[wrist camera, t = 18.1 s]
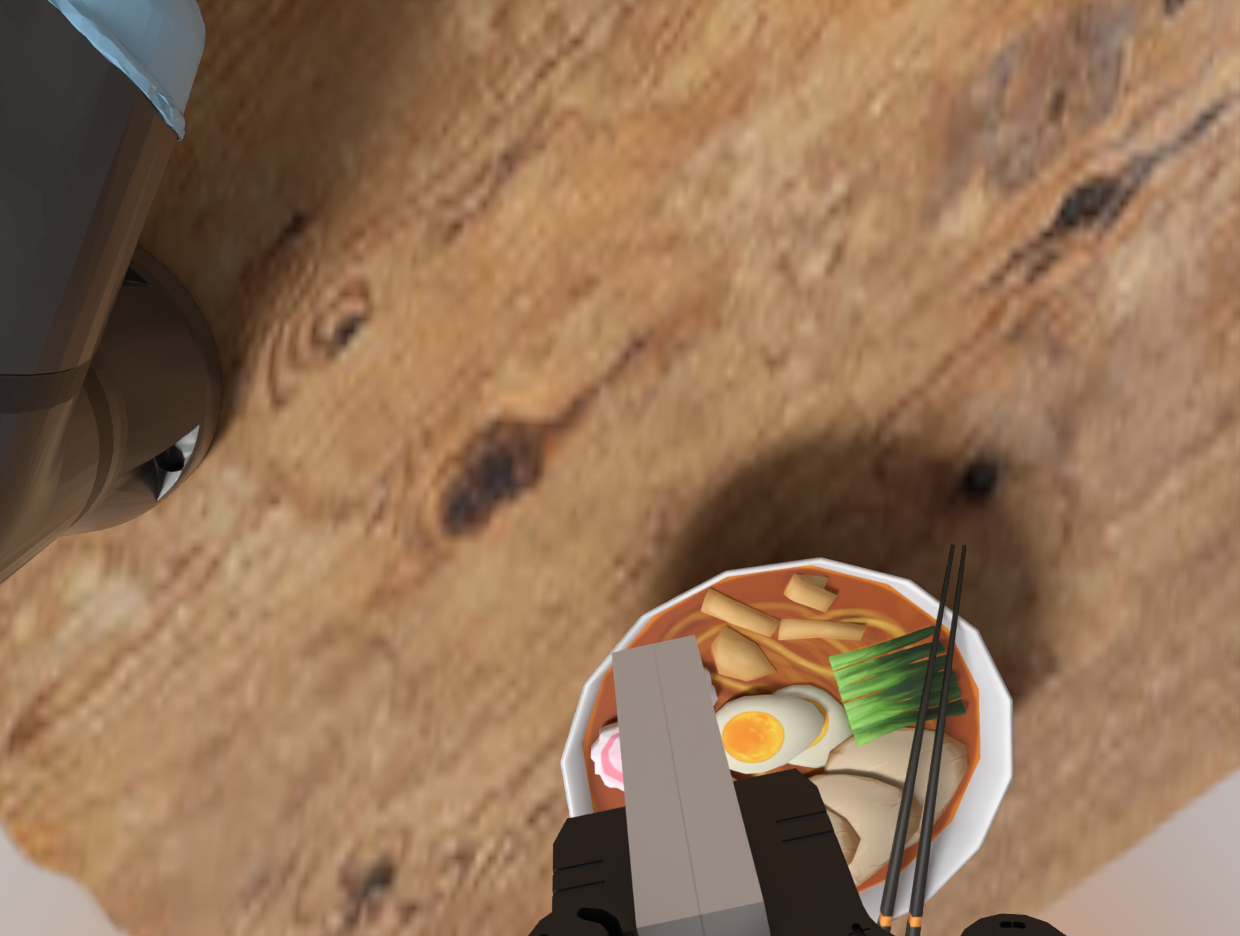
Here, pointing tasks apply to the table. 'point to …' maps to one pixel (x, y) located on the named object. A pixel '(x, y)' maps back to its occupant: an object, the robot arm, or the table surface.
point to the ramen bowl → (836, 714)
